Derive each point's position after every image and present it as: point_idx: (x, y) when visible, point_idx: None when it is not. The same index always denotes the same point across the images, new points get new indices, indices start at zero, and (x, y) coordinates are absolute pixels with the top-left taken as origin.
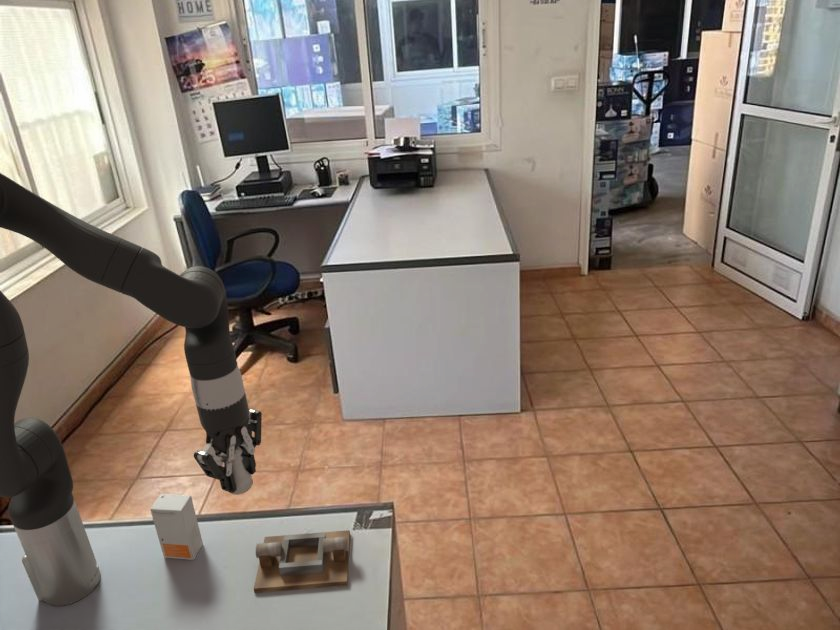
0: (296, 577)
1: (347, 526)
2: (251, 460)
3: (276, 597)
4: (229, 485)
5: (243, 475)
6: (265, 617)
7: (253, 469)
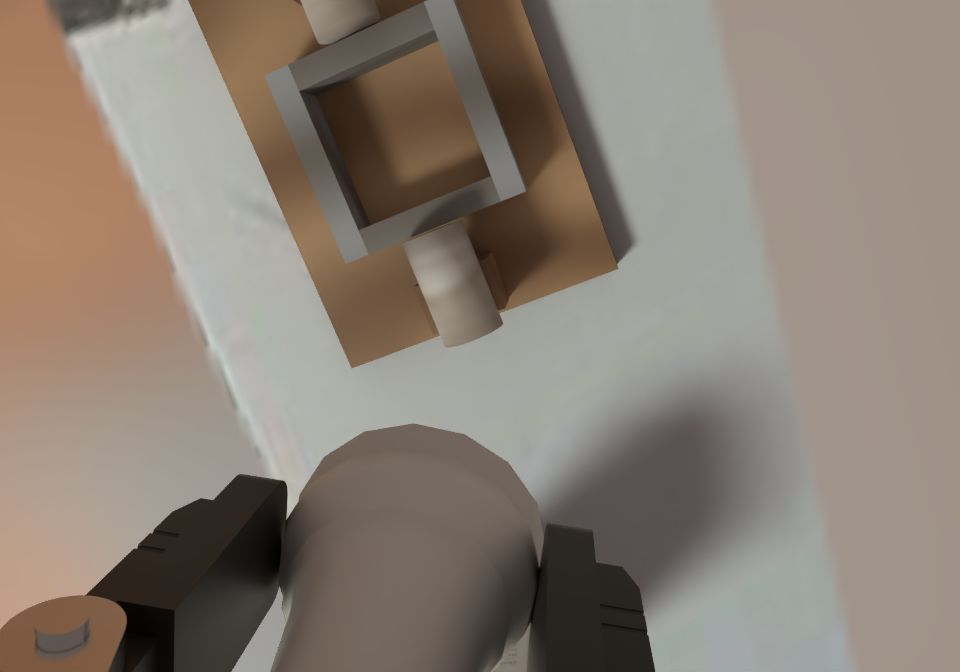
0: (514, 113)
1: (162, 41)
2: (189, 567)
3: (614, 162)
4: (610, 610)
5: (403, 544)
6: (718, 155)
7: (250, 497)
